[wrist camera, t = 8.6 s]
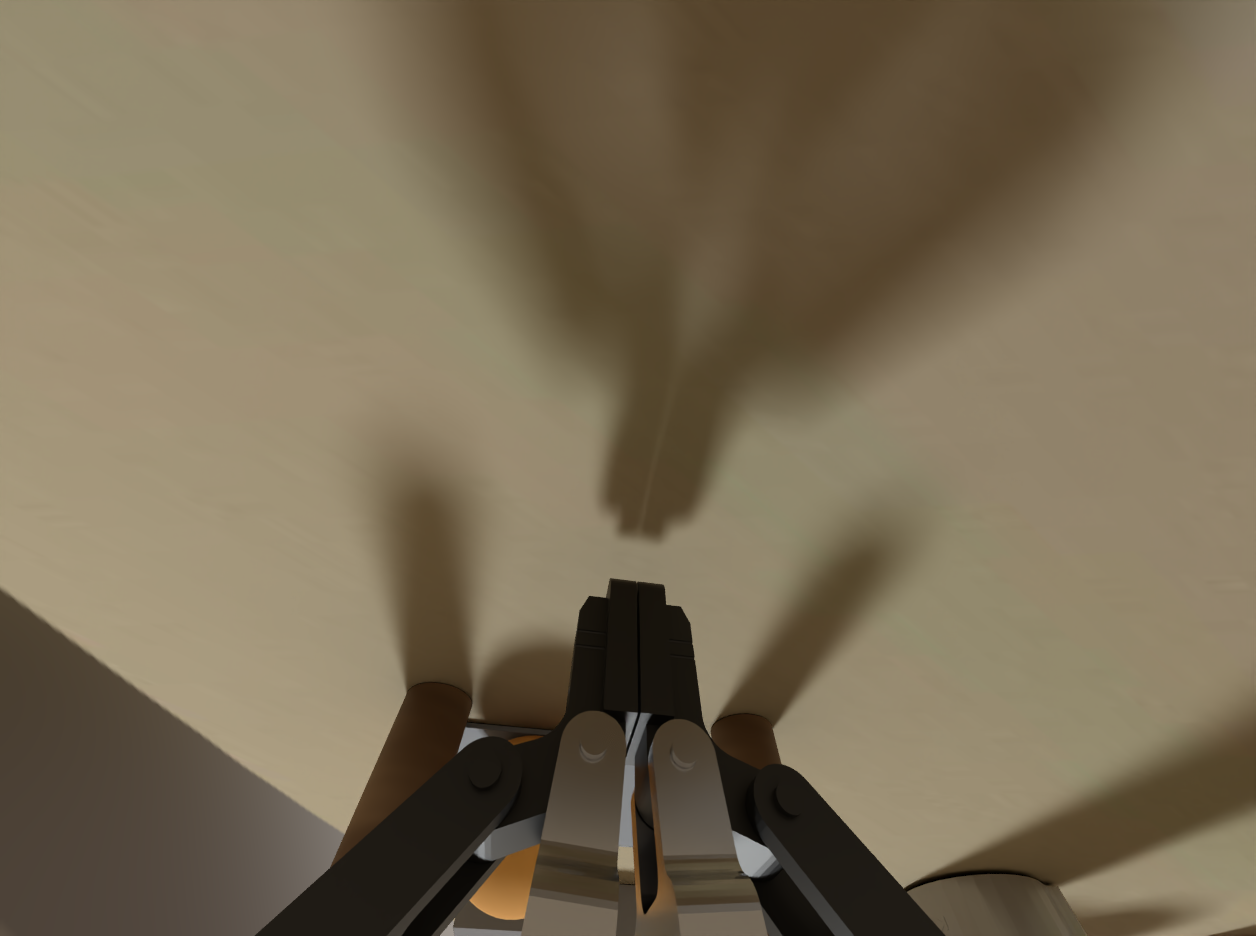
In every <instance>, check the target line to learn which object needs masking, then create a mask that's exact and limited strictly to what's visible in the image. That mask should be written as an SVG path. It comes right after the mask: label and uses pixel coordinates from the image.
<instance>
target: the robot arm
mask: <svg viewBox="0 0 1256 936" xmlns="http://www.w3.org/2000/svg"><path fill="white" fill-rule="evenodd" d="M625 765H632V766H635V787H634V790H633V793H632V797H631V819H632V836H633V853H634V870H635V887H636V905H637V920H636V930H635V936H768V935H767V933H768V934H769V936H1087V934H1086V932H1085V931H1084V929H1083V927H1082V926H1081V924H1080V922H1079V921H1078V919H1077V917H1076V916H1075V914H1074V912H1073V911H1072V909H1071V907H1070V906H1069V904H1068V902H1067V901H1066V899H1065V897H1064V896H1063V894H1062V892H1061V891H1060V889H1059V887H1056V886H1046V885H1044V884H1042V883H1041V882H1040V881H1038V880H1036V879H1033V878H1030V877H1025V876H1020V875H1009V874H982V875H969V876H962V877H954V878H949V879H944V880H939V881H935V882H931V883H928V884H924V885H922V886H919V887H916V888H914V889H912V890H910V891H908V892H906V891H905V890H904V889H903V887H902V886H901V885H900V884H899V883H898V882H897V881H896V880H895V879H894V877H893V876H892V875H891V874H890V873H889V872H888V871H887V870H886V868H885V867H884V866H883V865H882V864H881V863H880V862H879V861H878V860H877V858H876V857H875V856H874V855H873V854H872V853H871V852H870V851H869V849H868V848H867V847H866V846H865V845H864V844H863V843H862V842H861V841H860V839H859V838H858V837H857V836H856V835H855V834H854V833H853V832H852V830H851V829H850V828H849V827H848V826H847V825H846V824H845V823H844V822H843V820H842V819H841V818H840V817H839V816H838V815H837V814H836V813H835V812H834V810H833V809H832V808H831V807H830V806H829V805H828V804H827V803H826V801H825V800H824V799H823V798H822V797H821V796H820V795H819V794H818V793H817V791H816V790H815V789H814V788H813V787H812V786H811V785H810V784H809V782H808V781H807V780H806V779H805V778H804V777H803V776H802V775H801V774H799V773H798V772H797V771H795V770H794V769H792V768H790V767H788V766H785V765H782V764H770V765H767V766H765V767H763V768H762V769H761V770H760V769H758V768H755V767H753V766H751V765H749V764H747V763H745V762H743V761H741V760H738V759H736V758H734V757H732V756H730V755H729V754H727V753H725V752H724V751H723V750H721V749H720V748H719V747H718V746H717V745H716V744H715V742H714V741H713V740H712V739H711V737H710V736H709V734H708V732H707V730H706V728H705V725H704V722H703V718H702V711H701V703H700V696H699V688H698V680H697V672H696V665H695V660H694V649H693V645H692V634H691V626H690V622H689V620H688V619H687V617H686V615H685V613H684V612H683V610H682V608H681V607H679V606H671V605H666V597H665V587H664V585H662V584H654V583H646V582H637V583H636V581H628V580H620V579H612V578H610V581H609V585H608V590H607V595H606V598H603V597H594V596H589V597H588V599H587V600H586V602H585V603H584V605H583V606H582V608H581V609H580V612H579V618H578V624H577V631H576V637H575V643H574V650H573V658H572V666H571V674H570V682H569V690H568V698H567V706H566V713H565V715H564V717H563V719H562V721H561V722H560V723H559V725H558V726H557V727H556V728H555V729H554V730H552V731H551V732H550V733H548V734H547V735H545V736H543V737H540V738H538V739H535V740H531V741H527V742H524V743H520V744H516V745H513V744H512V743H511V742H509V741H508V740H506V739H504V738H501V737H495V736H488V737H483V738H480V739H477V740H475V741H473V742H471V743H469V744H468V745H467V746H466V747H464V748H463V749H462V750H461V751H460V752H459V753H458V754H456V755H455V756H454V757H453V758H452V759H451V760H450V761H449V762H448V763H446V764H445V765H444V766H443V767H442V768H441V769H440V770H439V771H437V772H436V773H435V774H434V775H433V776H432V777H431V778H430V779H429V780H427V781H426V782H425V783H424V784H423V785H422V786H421V787H420V788H419V789H417V790H416V791H415V792H414V793H413V794H412V795H411V796H410V797H409V798H407V799H406V800H405V801H404V802H403V803H402V804H401V805H400V806H399V807H397V808H396V809H395V810H394V811H393V812H392V813H391V814H390V815H389V816H387V817H386V818H385V819H384V820H383V821H382V822H381V823H380V824H379V825H377V826H376V827H375V828H374V829H373V830H372V831H371V832H370V833H369V834H367V835H366V836H365V837H364V838H363V839H362V840H361V841H360V842H358V843H357V844H356V845H355V846H354V847H353V848H352V849H351V850H350V851H348V852H347V853H346V854H345V855H344V856H343V857H342V858H341V859H340V860H338V861H337V862H336V863H335V864H334V865H333V866H332V867H331V868H330V869H328V870H327V871H326V872H325V873H324V874H323V875H322V876H321V877H320V878H318V879H317V880H316V881H315V882H314V883H313V884H312V885H311V886H310V887H308V888H307V889H306V890H305V891H304V892H303V893H302V894H301V895H300V896H298V897H297V898H296V899H295V900H294V901H293V902H292V903H291V904H290V905H288V906H287V907H286V908H285V909H284V910H283V911H282V912H281V913H280V914H278V915H277V916H276V917H275V918H274V919H273V920H272V921H271V922H269V924H267V925H266V926H265V927H264V928H263V929H262V930H261V931H259V932H258V933H257V934H256V935H255V936H440V934H441V933H442V932H443V931H444V930H445V929H446V928H447V926H448V925H449V924H450V923H451V922H452V920H453V919H454V918H455V917H456V916H457V914H458V913H459V912H460V911H461V910H462V908H463V907H464V906H465V905H466V904H467V903H468V901H469V900H470V899H471V898H472V897H473V895H474V894H475V893H476V892H477V891H478V889H479V888H480V887H481V886H482V885H483V884H484V882H485V881H486V880H487V879H488V878H489V876H490V875H491V874H492V873H493V872H494V870H495V869H496V868H497V867H498V866H499V864H500V863H501V862H502V861H503V860H504V859H505V857H506V856H507V855H510V854H513V853H515V852H518V851H521V850H524V849H527V848H529V847H532V846H535V845H538V844H540V846H539V851H538V856H537V860H536V864H535V869H534V873H533V878H532V883H531V888H530V893H529V898H528V903H527V908H526V913H525V918H524V923H523V927H522V932H521V936H616V929H617V915H618V900H619V875H618V871H617V860H618V846H619V834H620V821H621V809H622V797H623V784H624V772H625Z"/></svg>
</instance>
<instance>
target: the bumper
mask: <svg viewBox="0 0 1256 936" xmlns="http://www.w3.org/2000/svg"><path fill="white" fill-rule="evenodd" d="M636 920H637V905H636V887H635V885H621V884H619V900H618V915H617V929H616V936H635V930H636ZM523 923H524V918H523V919H518V920H505V919H500V918H496V917H493V916H491V915H488V914H486V913H484V912H483V911H481V910H480V909H478V908H477V907H476V906H475V905H474V904H473V903H471V902H470V901H468V903H467V904H466V905H465V906H464V907H463V908H462V910H461V911H460V912H459V913H458V914H457V916H456V917H455V921H454V925H453V930H454V935H455V936H521V932H522V927H523Z"/></svg>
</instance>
